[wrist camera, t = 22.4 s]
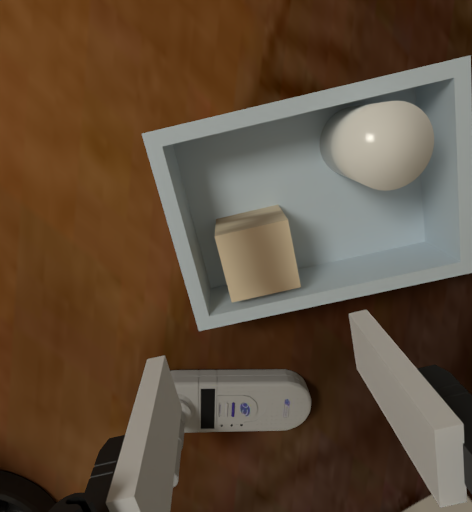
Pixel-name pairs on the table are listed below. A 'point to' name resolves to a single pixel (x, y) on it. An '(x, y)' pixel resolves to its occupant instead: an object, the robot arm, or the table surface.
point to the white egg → (378, 143)
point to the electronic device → (239, 401)
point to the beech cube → (257, 253)
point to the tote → (320, 195)
